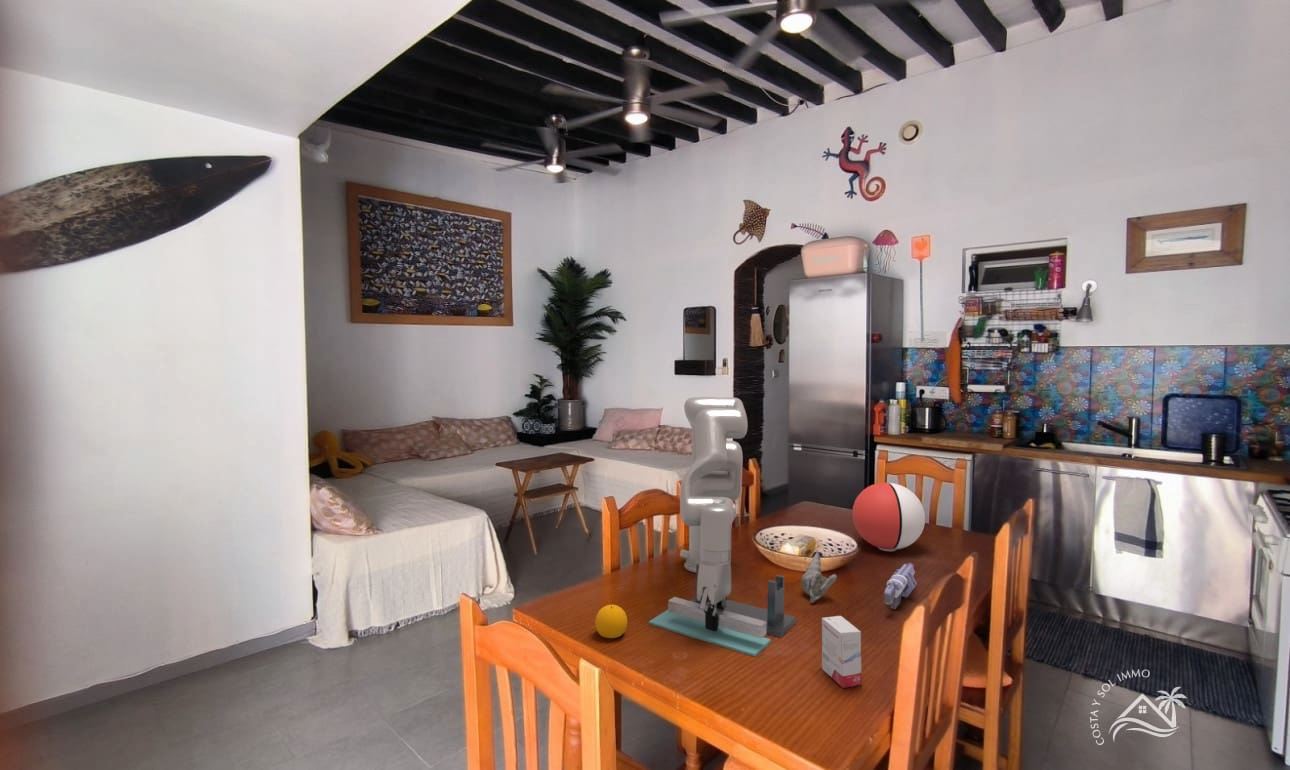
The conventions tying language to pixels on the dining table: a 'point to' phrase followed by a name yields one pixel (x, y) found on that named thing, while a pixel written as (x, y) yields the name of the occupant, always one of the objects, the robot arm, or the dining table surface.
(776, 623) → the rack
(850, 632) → the ink box
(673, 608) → the rail
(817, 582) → the seashell
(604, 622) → the yellow orange fruit
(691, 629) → the mat
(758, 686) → the dining table surface
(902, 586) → the toy gun
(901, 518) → the ball
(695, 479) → the robot arm
